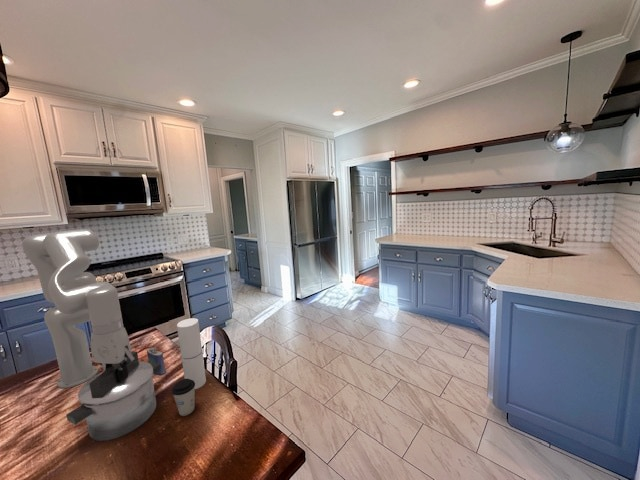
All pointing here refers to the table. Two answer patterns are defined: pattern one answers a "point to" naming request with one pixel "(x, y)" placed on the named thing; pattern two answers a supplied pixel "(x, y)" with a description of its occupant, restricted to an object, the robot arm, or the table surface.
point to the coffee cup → (184, 396)
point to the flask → (156, 359)
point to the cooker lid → (115, 383)
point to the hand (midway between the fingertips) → (117, 378)
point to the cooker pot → (118, 413)
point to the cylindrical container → (191, 351)
